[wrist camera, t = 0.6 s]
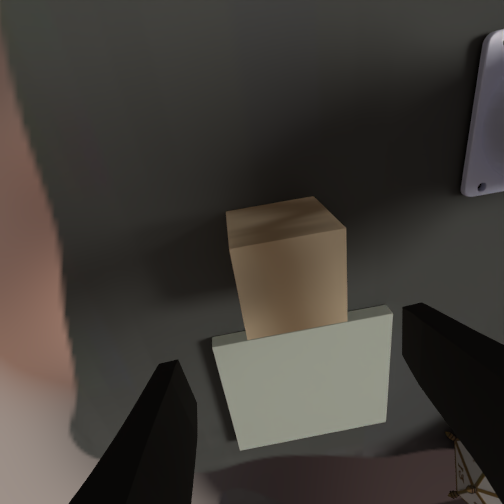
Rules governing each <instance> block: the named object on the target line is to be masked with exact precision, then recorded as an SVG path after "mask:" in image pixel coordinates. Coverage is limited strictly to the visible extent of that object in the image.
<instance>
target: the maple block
mask: <svg viewBox="0 0 504 504" xmlns="http://www.w3.org/2000/svg"><path fill="white" fill-rule="evenodd" d="M226 221H227V231H228V242H229V251H230V256H231V261H232V266H233V271H234V276H235V281H236V286H237V291H238V296H239V301H240V306H241V311H242V316H243V320H244V325H245V330H246V335H247V340H251V339H257V338H262V337H267V336H272V335H278V334H283V333H288V332H294V331H299V330H304V329H310V328H315V327H320V326H325V325H331V324H336V323H341V322H347V321H348V320H347V245H346V227H345V226H344V225H343V224H342V223H341V222H340V221H339V220H337V219H336V218H335V217H334V216H333V215H332V214H331V213H330V212H329V211H328V210H327V209H326V208H325V207H324V206H323V205H322V204H321V203H320V202H319V201H318V200H317V199H316V198H315V197H314V196H311V197H305V198H300V199H294V200H288V201H283V202H277V203H271V204H265V205H260V206H254V207H248V208H243V209H237V210H231V211H226Z"/></svg>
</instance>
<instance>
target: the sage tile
mask: <svg viewBox="0 0 504 504" xmlns="http://www.w3.org/2000/svg"><path fill="white" fill-rule="evenodd" d="M347 320H348V321H347V322H341V323H336V324H331V325H325V326H320V327H315V328H310V329H304V330H299V331H294V332H288V333H283V334H278V335H272V336H267V337H262V338H257V339H251V340H247V335H246V331H242V332H237V333H231V334H226V335H221V336H215V337H212V349H213V352H214V356H215V360H216V363H217V367H218V371H219V375H220V378H221V382H222V386H223V389H224V393H225V397H226V400H227V404H228V408H229V411H230V415H231V419H232V422H233V426H234V430H235V433H236V437H237V441H238V445H239V448H240V451H241V450H246V449H251V448H256V447H261V446H266V445H271V444H276V443H281V442H286V441H291V440H296V439H301V438H306V437H311V436H316V435H321V434H326V433H331V432H337V431H342V430H347V429H352V428H357V427H362V426H367V425H372V424H377V423H382V422H386V412H387V397H388V381H389V366H390V351H391V335H392V320H393V313H392V312H391V311H390V309H389V308H388V307H387V306H386V305H381V306H375V307H370V308H365V309H359V310H354V311H349V312H347Z"/></svg>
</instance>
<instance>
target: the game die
mask: <svg viewBox="0 0 504 504" xmlns="http://www.w3.org/2000/svg"><path fill="white" fill-rule="evenodd" d="M445 433H446V435H447V438H449V439H450V440H453V441H454V446H455V468H456V490H457V491H450V493H449V495H448V496H449V497H451V498H453V499H454V498H457V497H458V496H460V497H461V498H462V499H463V500H464V501H465V502H466V503H467V504H502V503H501V501H500V499H499V498H498V496H497V495H496V493H495V491H494V490H493V488H492V486H491V485H490V483H489V482H488V480H487V478H486V477H485V475H484V474H483V472H482V471H481V469H480V468H479V466H478V465H477V464H476V462H475V461H474V459H473V458H472V456H471V455H470V454H469V452H468V451H467V450H466V448H465V447H464V445H463V444H462V443H461V441H460V440H459V439H458V438H455V436H454V435H453V434H451V433H449V432H445Z"/></svg>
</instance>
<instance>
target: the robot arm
mask: <svg viewBox="0 0 504 504" xmlns="http://www.w3.org/2000/svg"><path fill="white" fill-rule="evenodd" d="M503 41H504V29H502V30H497V31H494V32H491V33H490V34H488V35H487V36H486V38H485V39H484V42H483V45H482V51H481V57H480V64H479V71H478V77H477V84H476V90H475V97H474V104H473V110H472V117H471V124H470V130H469V137H468V143H467V150H466V157H465V163H464V170H463V176H462V183H461V193H462V194H463V195H465V196H467V197H474V196H480V195H485V194H491V193H496V192H502V191H504V45H503ZM480 184H481V187H480V188H479V189H478V186H479V185H480ZM402 355H403V357H404V359H405V361H406V363H407V364H408V366H409V368H410V370H411V372H412V373H413V375H414V377H415V379H416V380H417V382H418V384H419V385H420V387H421V388H422V390H423V391H424V392H425V394H426V395H427V396H428V398H429V399H430V401H431V402H432V403H433V405H434V406H435V407H436V409H437V410H438V412H439V413H440V414H441V416H442V417H443V418H444V420H445V421H446V422H447V424H448V425H449V426H450V428H451V429H452V431H453V432H454V433H455V435H456V436H457V437H458V439H459V440H460V441H461V443H462V444H463V445H464V447H465V448H466V450H467V451H468V452H469V454H470V455H471V456H472V458H473V459H474V461H475V462H476V464H477V465H478V466H479V468H480V469H481V471H482V472H483V474H484V475H485V477H486V478H487V480H488V482H489V483H490V485H491V486H492V488H493V490H494V491H495V493H496V495H497V496H498V498H499V499H500V501H501V503H502V504H504V345H503V344H501V343H499V342H497V341H495V340H493V339H491V338H489V337H487V336H485V335H483V334H481V333H479V332H477V331H475V330H473V329H471V328H469V327H467V326H466V325H464V324H462V323H460V322H458V321H456V320H454V319H452V318H450V317H449V316H447V315H445V314H443V313H441V312H439V311H437V310H435V309H434V308H432V307H430V306H428V305H426V304H424V303H418V304H413V305H409V306H405V307H403V316H402ZM196 447H197V402H196V400H195V397H194V395H193V393H192V390H191V388H190V386H189V384H188V381H187V379H186V377H185V374H184V372H183V370H182V367H181V365H180V363H179V361H178V360H174V361H169V362H165V363H161V364H159V365H158V367H157V368H156V370H155V371H154V373H153V375H152V377H151V378H150V380H149V382H148V383H147V385H146V387H145V389H144V390H143V392H142V394H141V395H140V397H139V399H138V401H137V402H136V404H135V406H134V407H133V409H132V411H131V412H130V414H129V415H128V417H127V419H126V420H125V422H124V424H123V425H122V427H121V429H120V430H119V432H118V433H117V435H116V436H115V438H114V440H113V441H112V443H111V444H110V446H109V447H108V449H107V450H106V452H105V453H104V455H103V456H102V458H101V459H100V461H99V462H98V464H97V465H96V467H95V468H94V469H93V471H92V472H91V474H90V475H89V477H88V478H87V480H86V481H85V482H84V484H83V485H82V486H81V488H80V489H79V491H78V492H77V493H76V495H75V496H74V497H73V498H72V500H71V501H70V502H69V504H191V498H192V488H193V479H194V469H195V458H196Z"/></svg>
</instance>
